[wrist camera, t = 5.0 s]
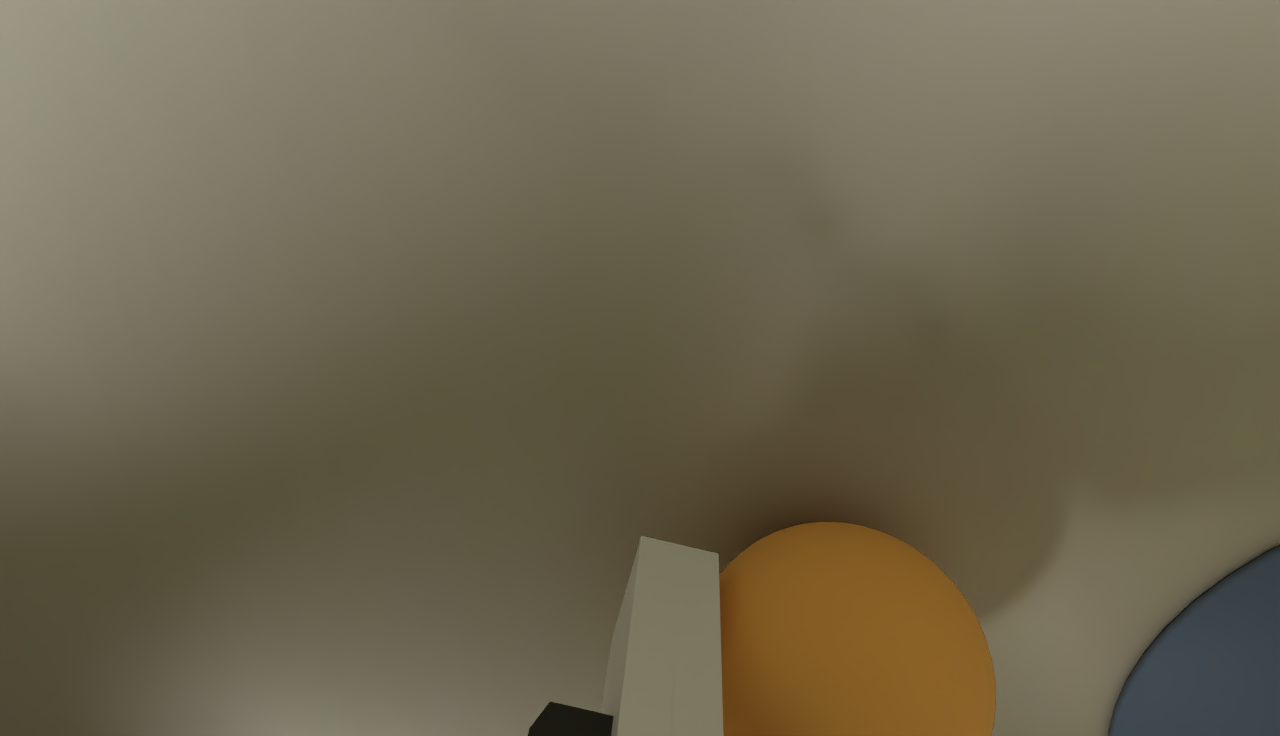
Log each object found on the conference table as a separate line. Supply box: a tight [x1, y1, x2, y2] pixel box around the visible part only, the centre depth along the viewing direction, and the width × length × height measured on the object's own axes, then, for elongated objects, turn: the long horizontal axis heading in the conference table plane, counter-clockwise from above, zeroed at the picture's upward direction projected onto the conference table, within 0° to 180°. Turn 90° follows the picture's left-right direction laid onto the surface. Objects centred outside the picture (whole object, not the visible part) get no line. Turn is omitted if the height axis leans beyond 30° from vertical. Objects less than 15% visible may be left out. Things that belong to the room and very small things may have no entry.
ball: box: [719, 522, 996, 736], centre depth 14 cm, size 6×6×6 cm
